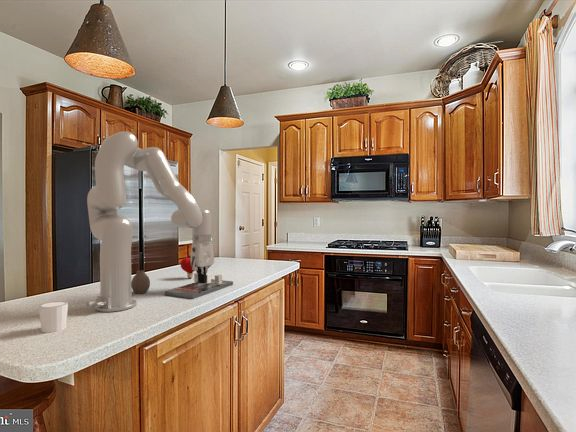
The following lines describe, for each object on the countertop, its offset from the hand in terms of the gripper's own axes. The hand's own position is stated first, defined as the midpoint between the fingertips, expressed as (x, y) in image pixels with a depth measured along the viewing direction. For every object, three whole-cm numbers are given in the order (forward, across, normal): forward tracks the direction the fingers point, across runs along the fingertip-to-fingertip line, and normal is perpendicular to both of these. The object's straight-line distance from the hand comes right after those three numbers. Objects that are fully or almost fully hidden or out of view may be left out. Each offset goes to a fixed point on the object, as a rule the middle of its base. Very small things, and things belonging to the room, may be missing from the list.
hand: (202, 282), depth 140 cm
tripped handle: (+1, +3, 0) cm, 4 cm away
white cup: (+3, -55, +7) cm, 55 cm away
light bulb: (+3, +15, +20) cm, 25 cm away
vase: (+3, -15, +19) cm, 24 cm away
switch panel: (+3, -1, 0) cm, 3 cm away
